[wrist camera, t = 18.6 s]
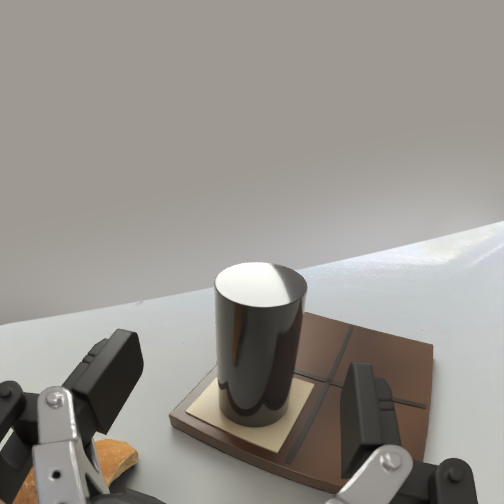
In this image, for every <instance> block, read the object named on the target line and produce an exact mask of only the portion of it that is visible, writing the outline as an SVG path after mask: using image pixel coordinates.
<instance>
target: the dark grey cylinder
mask: <svg viewBox="0 0 504 504" xmlns="http://www.w3.org/2000/svg"><path fill="white" fill-rule="evenodd" d="M306 295H307V283H306V281H305V279H304V278H303V277H302V276H301V275H300V274H299V273H297V272H296V271H294V270H292V269H290V268H287V267H284V266H281V265H277V264H271V263H261V262H252V263H243V264H238V265H234V266H231V267H229V268H227V269H225V270H223V271H222V272H221V273H219V275H218V276H217V277H216V279H215V324H216V354H217V378H218V399H219V407H220V409H221V411H222V413H223V414H224V415H225V416H226V417H227V418H228V419H229V420H231V421H232V422H234V423H236V424H238V425H241V426H245V427H252V428H257V427H265V426H268V425H271V424H273V423H275V422H277V421H278V420H280V419H281V418H282V417H283V416H284V415H285V413H286V412H287V410H288V406H289V401H290V396H291V390H292V385H293V379H294V373H295V367H296V361H297V355H298V349H299V343H300V336H301V330H302V323H303V316H304V309H305V302H306Z"/></svg>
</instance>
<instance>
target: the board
mask: <svg viewBox="0 0 504 504" xmlns="http://www.w3.org/2000/svg"><path fill="white" fill-rule="evenodd" d="M351 362H357V363H371V364H372V367H373V373H374V377H377V378H384V379H385V381H386V382H387V383H388V385H389V386H390V387H391V391H392V395H393V402H394V405H395V411H396V415H397V421H398V426H399V432H400V437H401V443H402V447H403V448H404V449H405V450H406V451H408V453H409V454H410V455H411V457H412V458H413V459H414V460H416V461H419V462H423V458H424V452H425V445H426V438H427V430H428V422H429V413H430V402H431V389H432V372H433V345H432V344H428V343H423V342H419V341H415V340H411V339H407V338H403V337H399V336H395V335H391V334H387V333H383V332H379V331H375V330H371V329H367V328H363V327H360V326H356V325H352V324H348V323H344V322H341V321H337V320H333V319H330V318H326V317H322V316H319V315H315V314H311V313H308V312H304V316H303V323H302V330H301V336H300V343H299V349H298V355H297V361H296V367H295V373H294V379H293V385H292V390H291V396H290V401H289V406H288V410H287V412H286V413H285V415H284V416H283V417H282V418H281V419H280V420H278V421H277V422H275V423H273V424H271V425H268V426H265V427H257V428H252V427H245V426H241V425H238V424H236V423H234V422H232V421H231V420H229V419H228V418H227V417H226V416H225V415H224V414H223V413H222V411H221V409H220V407H219V399H218V378H217V365H216V366H215V367H214V368H213V369H212V370H211V371H210V372H209V373H208V375H207V376H206V377H205V378H204V379H203V380H202V381H201V382H200V383H199V384H198V385H197V386H196V387H195V388H194V389H193V390H192V391H191V392H190V394H189V395H188V396H187V397H186V398H185V399H184V400H183V401H182V402H181V403H180V404H179V405H178V406H177V407H176V408H175V409H174V410H173V411H172V412H171V413H170V414H169V418H170V422H171V425H172V426H174V427H176V428H178V429H180V430H181V431H183V432H185V433H187V434H189V435H191V436H193V437H195V438H197V439H198V440H200V441H202V442H204V443H206V444H208V445H210V446H212V447H215V448H217V449H219V450H221V451H223V452H225V453H227V454H229V455H232V456H234V457H236V458H238V459H240V460H243V461H245V462H247V463H250V464H252V465H254V466H257V467H259V468H262V469H264V470H267V471H269V472H272V473H274V474H277V475H280V476H282V477H285V478H288V479H291V480H293V481H296V482H299V483H302V484H305V485H308V486H311V487H314V488H317V489H321V490H324V491H327V492H331V493H334V494H337V493H338V492H339V491H340V490H341V489H342V488H343V487H344V486H345V485H346V484H347V482H348V481H349V480H350V479H341V431H340V396H341V391H342V388H343V385H344V381H345V378H346V375H347V372H348V368H349V365H350V363H351Z"/></svg>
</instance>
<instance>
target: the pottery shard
mask: <svg viewBox="0 0 504 504" xmlns="http://www.w3.org/2000/svg"><path fill="white" fill-rule="evenodd" d="M94 442H95V446H96V451H97V455H98V459H99V463H100V467H101V471H102V475H103V478H104V481H105V483H106V485H107V487H108V488H109V486H110V484H111V482H112V481H113V480H115V479H116V478H118V477H119V476H120V474H122V473H123V472H124V471H125V470H126V469H129V468H130V467H131V466H132V465H135V464H137V463H138V452H137V451H136V450H135V449H134V448H133V447H131V446H130V445H129V444H128V443H126V442H121V441H116V440H112V439H104V440H99V441H94ZM12 504H38V500H37V493H36V486H35V477H34V468H33V467H32V468H31V470H30V472H29V474H28V476H27V477H26V479H25V481H24V483H23V485H22V486H21V488H20V490H19V492H18V494H17V496H16V498H15V500H14V501H13V503H12Z"/></svg>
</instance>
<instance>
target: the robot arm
mask: <svg viewBox="0 0 504 504" xmlns="http://www.w3.org/2000/svg"><path fill="white" fill-rule="evenodd" d="M143 366H144V362H143V357H142V352H141V348H140V343H139V338H138V335H137V333H136V332H132V331H127V330H123V329H117V330H116V331H115V332H114V333H113V334H112V336H111V337H110V338H109V339H106V338H105V339H103V340H102V341H100V342H98V343H97V344H95V345H94V346H93V347H92V349H91V350H90V351H89V352H88V355H86V356H85V357H84V358H83V360H82V362H80V363H79V365H78V366H77V367H76V368H75V370H74V371H73V372H72V373H71V375H70V376H69V377H68V378H67V380H66V381H65V382H64V383H63V385H62V386H52V387H49V388H47V389H45V390H44V391H42V392H41V394H34V393H26V392H23V390H22V388H21V386H20V385H19V384H18V383H17V382H15V381H4V382H2V383H0V443H1V441H2V440H3V438H4V437H5V435H6V434H7V432H8V431H9V429H10V428H12V429H13V433H12V434H11V436H10V437H9V439H8V440H7V442H6V444H5V445H4V447H3V448H2V450H1V451H0V504H12V503H13V501H14V500H15V498H16V496H17V494H18V492H19V490H20V488H21V486H22V485H23V483H24V481H25V479H26V477H27V476H28V474H29V472H30V470H31V468H32V467H33V468H34V477H35V486H36V493H37V500H38V504H166V503H164V502H162V501H160V500H158V499H157V498H155V497H152V496H149V495H146V494H143V493H140V492H137V491H134V490H131V489H128V488H126V487H125V488H124V490H123V493H122V494H119V493H111V494H110V491H109V489H108V487H107V485H106V483H105V481H104V478H103V475H102V471H101V467H100V463H99V459H98V455H97V451H96V446H95V442H94V438H93V435H94V434H95V432H96V431H97V432H100V433H102V434H105V435H106V434H107V433H108V431H109V429H110V428H111V426H112V424H113V422H114V421H115V419H116V417H117V416H118V414H119V412H120V410H121V409H122V407H123V405H124V404H125V402H126V400H127V399H128V397H129V395H130V393H131V392H132V390H133V388H134V387H135V385H136V383H137V382H138V380H139V378H140V377H141V375H142V372H143ZM340 431H341V479H350V480H349V481H348V482H347V484H346V485H345V486H344V487H343V488H342V489H341V490H340V491H339V492H338V493H337V494H336V495H335V496H332V497H331V498H330V499H329V500H328V501H327V502H326V503H325V504H478V501H477V495H476V489H475V483H474V478H473V473H472V470H471V468H470V466H469V465H468V464H467V463H466V462H465V461H463V460H461V459H457V458H450V459H446V460H444V461H443V462H442V463H440V465H439V466H438V465H433V464H428V463H423V462H419V461H416V460H414V459H413V458H412V457H411V455H410V454H409V453H408V451H406V450H405V449H404V448H403V447H402V443H401V437H400V432H399V426H398V421H397V415H396V411H395V405H394V402H393V395H392V391H391V387H390V386H389V385H388V383H387V382H386V381H385V379H384V378H377V377H374V373H373V367H372V364H371V363H357V362H351V363H350V365H349V368H348V372H347V375H346V378H345V381H344V385H343V388H342V391H341V396H340Z"/></svg>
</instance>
